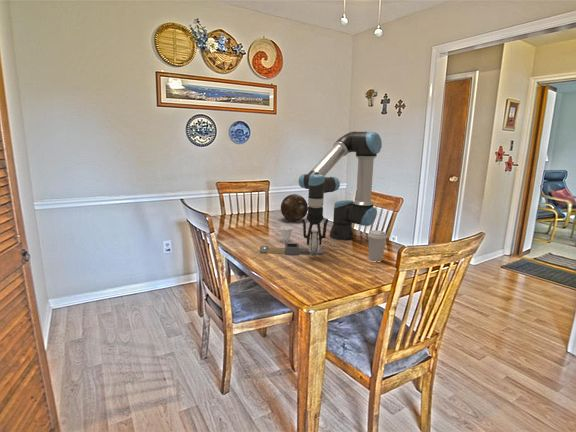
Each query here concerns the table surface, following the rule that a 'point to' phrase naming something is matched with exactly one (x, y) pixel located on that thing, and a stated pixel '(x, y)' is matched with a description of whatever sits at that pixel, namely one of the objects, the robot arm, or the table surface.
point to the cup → (285, 233)
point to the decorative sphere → (294, 207)
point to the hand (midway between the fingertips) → (313, 250)
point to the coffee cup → (376, 245)
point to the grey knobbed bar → (289, 249)
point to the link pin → (314, 242)
